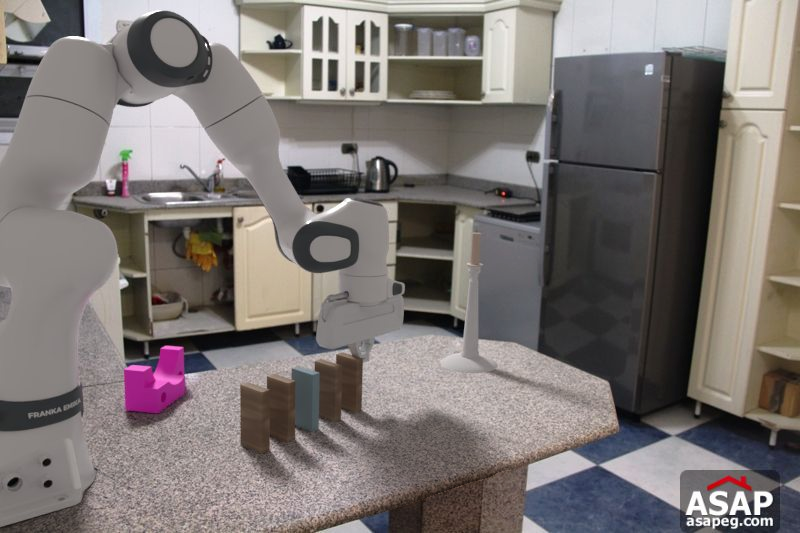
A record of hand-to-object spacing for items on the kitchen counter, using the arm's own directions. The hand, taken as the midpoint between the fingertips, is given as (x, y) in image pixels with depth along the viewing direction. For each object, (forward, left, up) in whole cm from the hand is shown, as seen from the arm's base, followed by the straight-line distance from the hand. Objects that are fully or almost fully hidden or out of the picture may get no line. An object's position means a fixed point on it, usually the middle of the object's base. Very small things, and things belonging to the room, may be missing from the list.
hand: (360, 362), depth 132 cm
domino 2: (-19, 0, -8) cm, 21 cm away
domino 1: (-25, 0, -8) cm, 26 cm away
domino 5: (-3, 0, -8) cm, 9 cm away
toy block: (-22, +30, -9) cm, 38 cm away
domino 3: (-14, 0, -8) cm, 16 cm away
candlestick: (+33, -3, -8) cm, 34 cm away
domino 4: (-8, 0, -8) cm, 12 cm away
